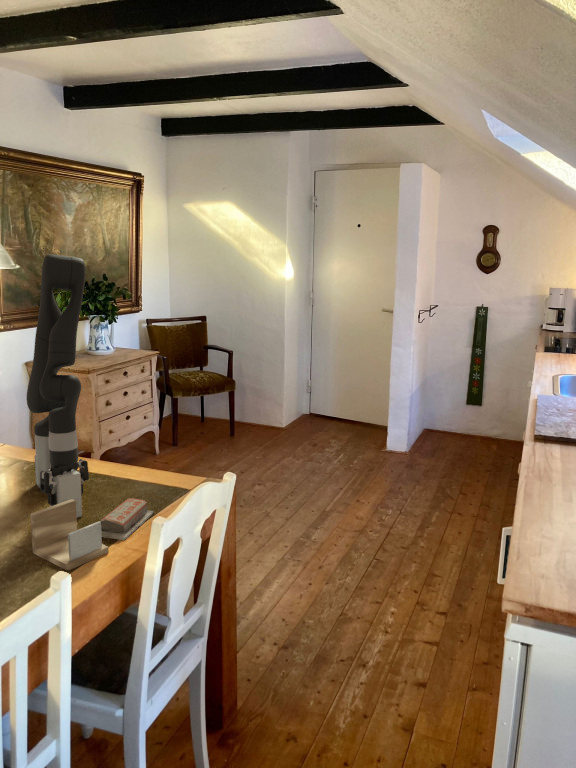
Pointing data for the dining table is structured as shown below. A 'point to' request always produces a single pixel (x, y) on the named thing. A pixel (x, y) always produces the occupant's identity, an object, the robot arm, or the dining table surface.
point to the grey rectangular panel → (84, 541)
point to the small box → (69, 489)
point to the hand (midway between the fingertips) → (66, 500)
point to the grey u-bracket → (58, 535)
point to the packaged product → (125, 519)
